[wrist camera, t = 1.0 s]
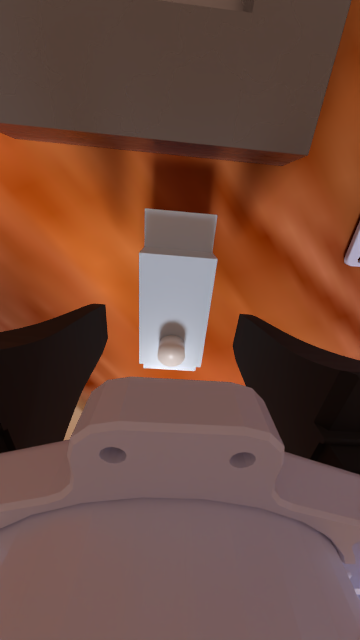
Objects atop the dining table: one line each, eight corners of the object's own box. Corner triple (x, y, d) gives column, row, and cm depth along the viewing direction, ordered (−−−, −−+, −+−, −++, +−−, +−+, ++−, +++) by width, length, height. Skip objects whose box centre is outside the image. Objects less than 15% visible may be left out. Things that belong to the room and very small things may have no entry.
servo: (151, 208, 15) (135, 208, 9) (210, 213, 15) (228, 216, 9) (148, 346, 20) (137, 397, 14) (192, 349, 20) (198, 401, 14)
